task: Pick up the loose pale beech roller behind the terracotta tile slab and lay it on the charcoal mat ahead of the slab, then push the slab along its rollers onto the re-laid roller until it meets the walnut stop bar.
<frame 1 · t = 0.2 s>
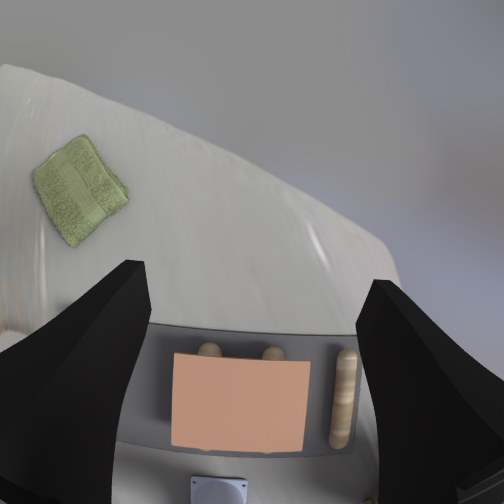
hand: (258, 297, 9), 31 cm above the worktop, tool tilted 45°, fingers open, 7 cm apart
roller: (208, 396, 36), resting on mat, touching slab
mat: (215, 396, 37), on the worktop
slab: (239, 404, 34), point 3 cm above the worktop, touching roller, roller
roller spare: (339, 398, 38), resting on mat
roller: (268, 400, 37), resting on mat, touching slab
washcloth: (78, 190, 43), on the worktop
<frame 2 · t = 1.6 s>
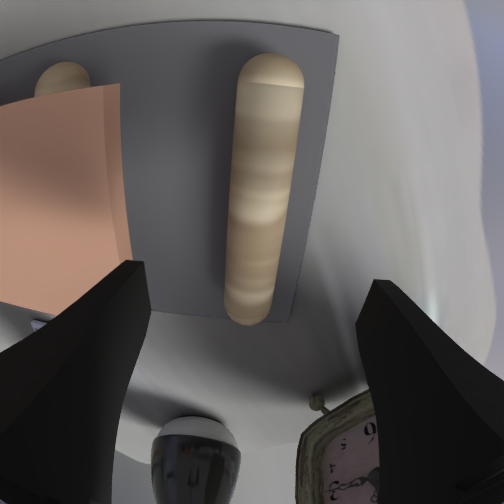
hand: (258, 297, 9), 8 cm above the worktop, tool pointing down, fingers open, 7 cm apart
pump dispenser: (200, 423, 32), on the worktop
mat: (10, 187, 16), on the worktop
slab: (8, 210, 13), point 3 cm above the worktop, touching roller, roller
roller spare: (257, 197, 16), resting on mat
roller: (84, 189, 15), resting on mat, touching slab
tabletop clock: (373, 376, 26), on the worktop
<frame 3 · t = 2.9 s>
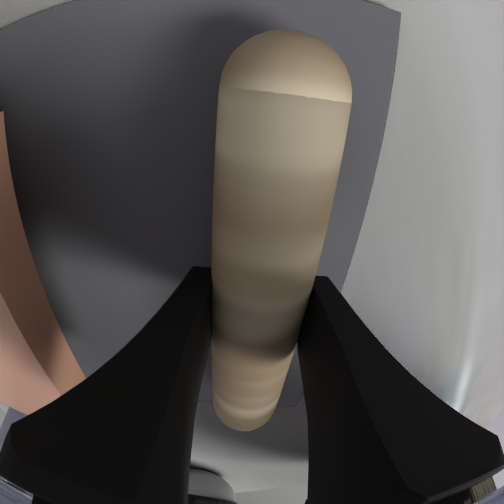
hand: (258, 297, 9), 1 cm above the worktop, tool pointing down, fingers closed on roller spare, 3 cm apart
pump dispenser: (194, 472, 26), on the worktop
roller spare: (258, 276, 10), resting on mat, touching gripper
tabletop clock: (388, 435, 21), on the worktop
when the fingers open (2 cm above the worktop, at t = 7.5 s): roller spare stays where it is, resting on mat.
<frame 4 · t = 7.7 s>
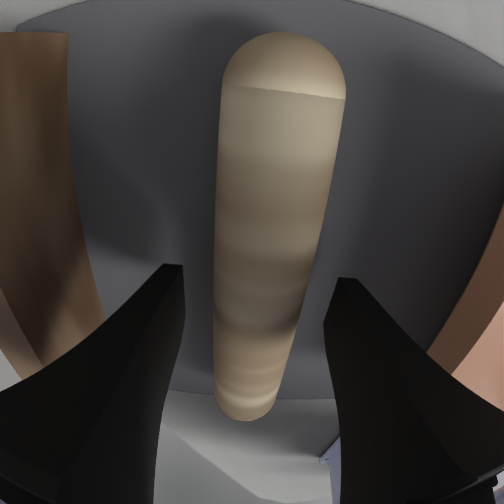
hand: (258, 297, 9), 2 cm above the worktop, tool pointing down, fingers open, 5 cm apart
mat: (484, 277, 11), on the worktop
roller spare: (263, 267, 11), resting on mat, tilted 6°
stop bar: (71, 245, 11), resting on mat
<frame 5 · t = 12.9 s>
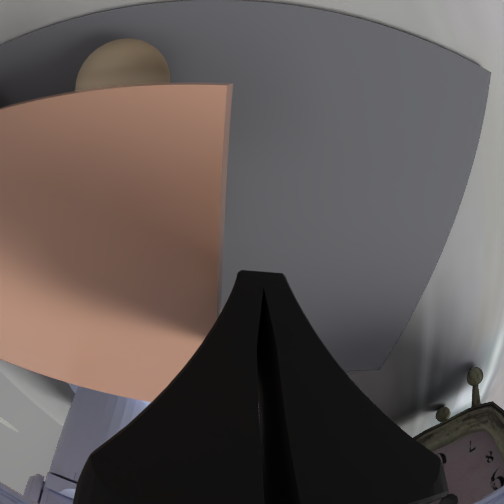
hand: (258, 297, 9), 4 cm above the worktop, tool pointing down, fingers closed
mat: (33, 218, 12), on the worktop
slab: (24, 261, 9), point 3 cm above the worktop, touching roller, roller
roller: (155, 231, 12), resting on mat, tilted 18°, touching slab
tabletop clock: (433, 403, 23), on the worktop
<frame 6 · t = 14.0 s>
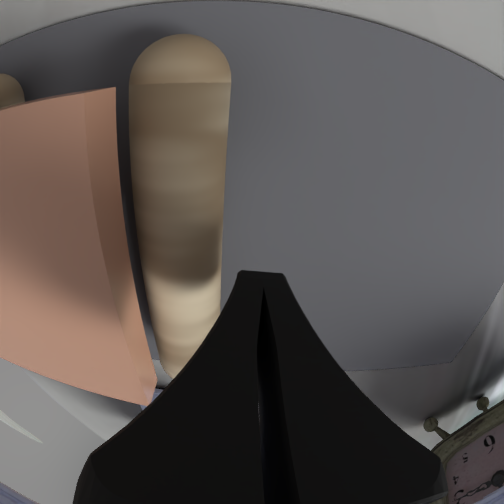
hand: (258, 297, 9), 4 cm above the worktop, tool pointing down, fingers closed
mat: (146, 225, 12), on the worktop
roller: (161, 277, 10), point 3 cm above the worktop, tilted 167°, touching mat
tabletop clock: (475, 393, 23), on the worktop
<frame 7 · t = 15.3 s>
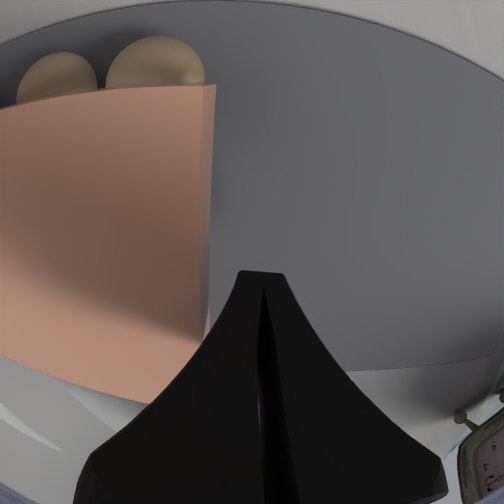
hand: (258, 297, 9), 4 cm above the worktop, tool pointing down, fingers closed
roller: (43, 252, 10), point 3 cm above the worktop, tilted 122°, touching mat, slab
mat: (256, 233, 13), on the worktop
slab: (20, 259, 10), point 3 cm above the worktop, touching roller, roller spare, stop bar
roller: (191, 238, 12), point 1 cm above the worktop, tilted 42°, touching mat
tabletop clock: (499, 387, 23), on the worktop
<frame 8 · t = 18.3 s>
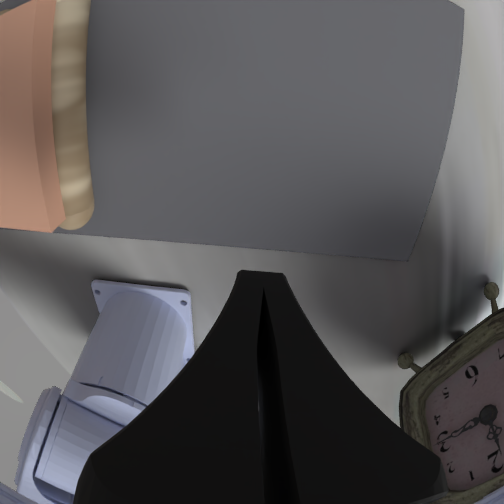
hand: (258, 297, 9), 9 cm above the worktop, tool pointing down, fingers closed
mat: (107, 98, 14), on the worktop
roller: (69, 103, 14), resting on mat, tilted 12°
tabletop clock: (454, 329, 25), on the worktop
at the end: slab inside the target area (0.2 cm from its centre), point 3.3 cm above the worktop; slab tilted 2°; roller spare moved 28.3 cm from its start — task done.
